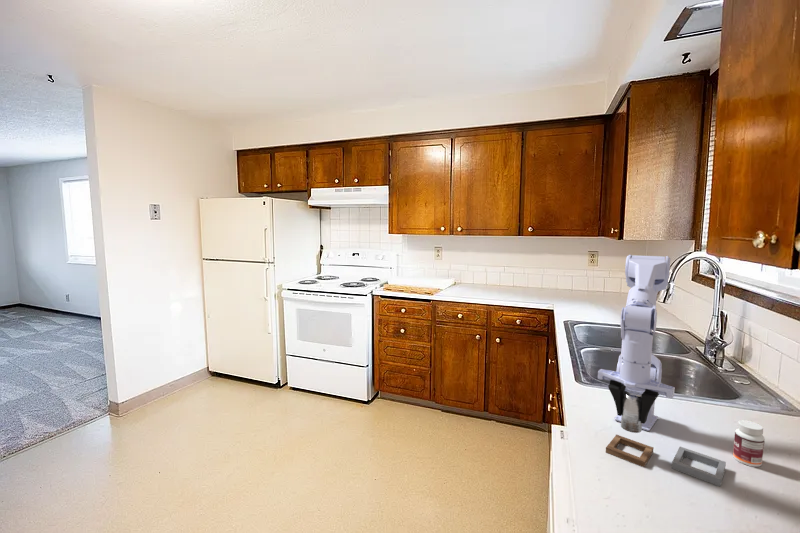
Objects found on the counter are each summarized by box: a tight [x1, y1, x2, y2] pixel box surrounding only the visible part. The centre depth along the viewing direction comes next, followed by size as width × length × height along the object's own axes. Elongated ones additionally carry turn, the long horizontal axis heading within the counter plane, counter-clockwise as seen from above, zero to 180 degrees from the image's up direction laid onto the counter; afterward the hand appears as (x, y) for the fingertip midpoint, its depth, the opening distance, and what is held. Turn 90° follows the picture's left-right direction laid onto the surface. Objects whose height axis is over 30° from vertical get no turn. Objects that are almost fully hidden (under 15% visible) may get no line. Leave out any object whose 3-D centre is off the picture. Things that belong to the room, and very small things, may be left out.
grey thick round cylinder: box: [620, 390, 643, 434], centre depth 86 cm, size 4×4×8 cm
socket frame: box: [605, 434, 654, 468], centre depth 87 cm, size 8×8×1 cm
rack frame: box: [671, 446, 727, 487], centre depth 81 cm, size 8×8×2 cm
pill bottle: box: [732, 419, 765, 468], centre depth 83 cm, size 5×5×8 cm
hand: (631, 417), depth 86 cm, fingers closed on grey thick round cylinder, 4 cm apart
